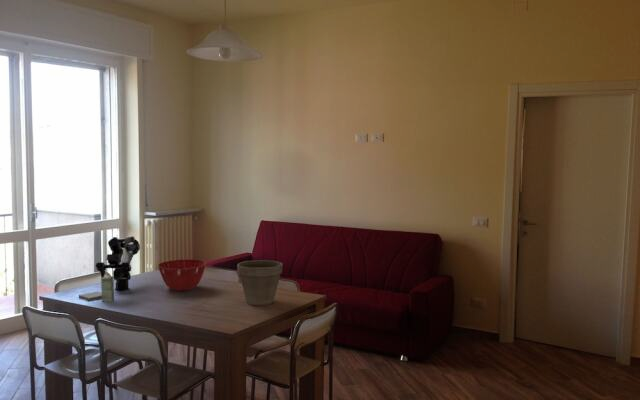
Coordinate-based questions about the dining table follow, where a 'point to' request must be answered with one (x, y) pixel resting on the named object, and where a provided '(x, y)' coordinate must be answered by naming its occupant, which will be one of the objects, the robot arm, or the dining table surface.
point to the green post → (107, 288)
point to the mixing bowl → (182, 273)
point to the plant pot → (259, 280)
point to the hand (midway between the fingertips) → (110, 279)
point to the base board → (91, 296)
